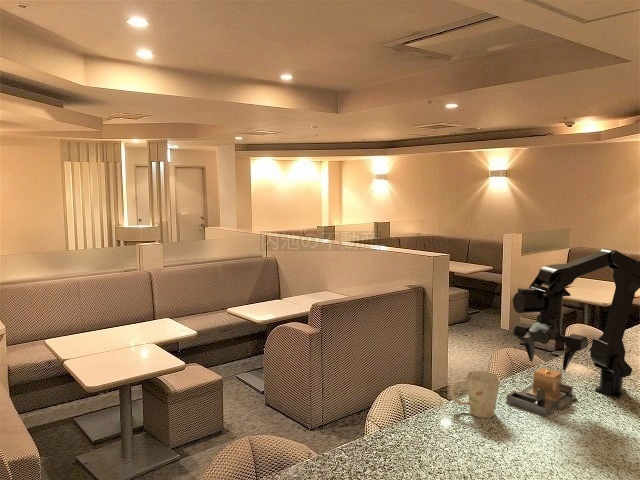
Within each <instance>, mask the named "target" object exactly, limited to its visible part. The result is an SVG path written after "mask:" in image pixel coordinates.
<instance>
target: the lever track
mask: <svg viewBox="0 0 640 480" xmlns="http://www.w3.org/2000/svg"><path fill="white" fill-rule="evenodd" d="M505 401H506V404H510V405H512V406H516V407H518V408H521V409H525V410H527V411H530V412H533V413H536V414H538V415H541V416H544V417H547V416H549V415H550V414H551V413H553V412H554V408H553V403H548V402H545V404H547V405H546V406H544V407H543V406H540V405H537V404H534V403H535V402H536V399H535V398H532V397H529V396H526V395H523V394H520V393H519V392H517V391H515V390H513V391H510V392H509V393H507V394H506V399H505Z"/></svg>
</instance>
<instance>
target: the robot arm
mask: <svg viewBox="0 0 640 480" xmlns="http://www.w3.org/2000/svg"><path fill="white" fill-rule="evenodd" d="M605 267H608V268H609V269H611V270H612V271H613V272H612V273H613V274H612V278H613V281H614V287H615V289H614V293H613V297H612V300H611V304H610V307H609V308H610V309H609V312H608V315H607V319H606V322H605V326H604V329H603V333H602V335H600V337H598V338H595V337H594V338H592V340H591V347H590V349H588V350H589V352H590V353H589V354H590V358H591V359H592V360H591V361H592V362H593V366H594V367H595V368H598V369H600V377H599V385H598V386H597V387H595V389H594V391H595V392H598V393H602V394H606V395H607V396H608V395H609V396H613V397H616V398H620V397H622V396H623V395H624V394H625V393H626V392H627V389H624V388H623V384H624V383H623V382H624V378H627V377H630V376H631V374H632V372H633V368H632V367H631V365H630V364H628V363H627V361H626V360H625V357H626V349H625V345H624V342H623V341H624V340H623V339H624V336H625V335H624V334H625V331H626V328H627V324H628V322H629V321H628V320H629V318H630V314H631V310H632V306H633V302H634V299H635V295H636V292H637V291H639V289H640V260H637V259H634V258H632V257H630V256H628V255H625V254H623V253H621V252H619V251H618V250H617V249H612V248H611V249H610V248H602V249H600V250H599V251H596V252H594V253H592V254H591V253H590V254H589V255H586V256H583V257H581V258H578V259H575V260H572V261H569V262H566V263H557V264H556V263H555V264H549V265H544V266H542V267H540V269H539V271H538V274H537V276H536V277H535V278H534V280H533V281H532V282H531V284H530V285H529V286H528V288H523V287H519V288H517V292H516V293H515V294H514V296H513V298H512V306H513V309H514V311H515V312H516V313H518V314H533V313H534V314H535V313H539V314H537V317H536V321H535V323H533V324H530V323H525V322H522V323H519V324H517V325H514V326H513V328H512V329H513V330H512V335H513V336H515V337H517V339H518V340H520V341H521V342H522V343H523V346H524V347H525V350H526V353H527V355H528V360H529V361H530V362H531V363H532V362H533V361H534V359H535V358H534V357H535V347H536V346H535V345H536V342H537V343H540V344H542V345H546V344H549V341H555V342H560V343H564V346H565V347H563V351H564V354H563V361H562V370H563V371H566V370H567V368H568V366H569V365H570V363H571V360H572V359H573V357H574V356H575V354H576V353H577V352H579V351H582V350H585V349H586V348H587V347H588V346H589V339H588V337H587V336H585V335H581V334H577V333H571V334H570V335H564V334H563V328H562V321H563V319H564V314H563V306H564V305H563V304H564V297H571V296H572V295H571V293H570V292H569V291H568V290H567V289H566V288H567V287H568V286H570V285H571V284H573V283H574V281H575V280H576V279H578V278H579V277H580V278H581V277H582V276H585V275H588V274H590V273H593V272H595V271H598V270H600V269H603V268H605Z"/></svg>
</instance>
